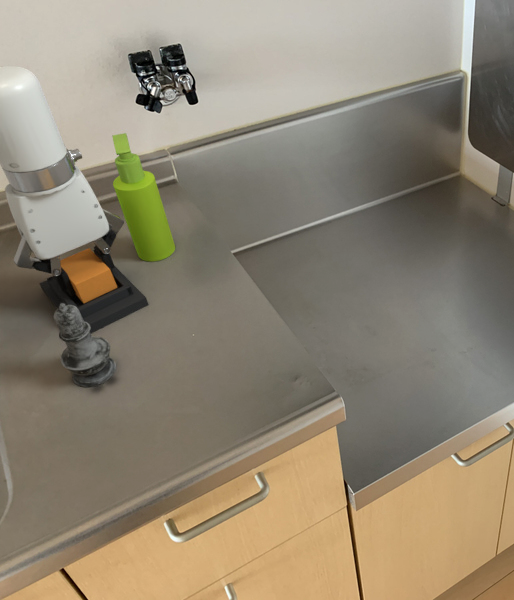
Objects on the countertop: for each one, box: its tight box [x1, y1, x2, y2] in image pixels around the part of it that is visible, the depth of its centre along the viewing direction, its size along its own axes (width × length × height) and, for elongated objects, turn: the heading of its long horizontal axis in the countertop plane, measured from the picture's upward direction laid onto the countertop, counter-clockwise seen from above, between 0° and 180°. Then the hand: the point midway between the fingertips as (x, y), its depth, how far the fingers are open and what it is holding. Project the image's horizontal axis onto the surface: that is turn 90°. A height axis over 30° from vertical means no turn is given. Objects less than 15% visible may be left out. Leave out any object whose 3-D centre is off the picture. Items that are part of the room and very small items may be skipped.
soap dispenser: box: [111, 132, 176, 263], centre depth 93 cm, size 6×7×20 cm
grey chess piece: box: [53, 303, 117, 388], centre depth 76 cm, size 6×6×12 cm
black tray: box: [39, 266, 149, 334], centre depth 90 cm, size 10×14×3 cm
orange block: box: [60, 247, 117, 303], centre depth 88 cm, size 5×7×4 cm
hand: (89, 281), depth 89 cm, fingers closed on orange block, 5 cm apart
